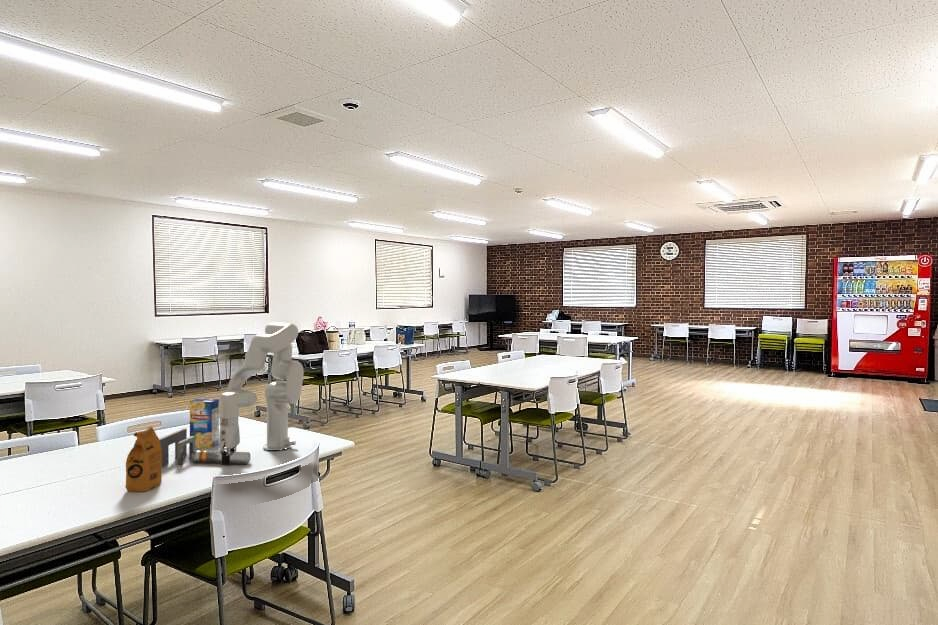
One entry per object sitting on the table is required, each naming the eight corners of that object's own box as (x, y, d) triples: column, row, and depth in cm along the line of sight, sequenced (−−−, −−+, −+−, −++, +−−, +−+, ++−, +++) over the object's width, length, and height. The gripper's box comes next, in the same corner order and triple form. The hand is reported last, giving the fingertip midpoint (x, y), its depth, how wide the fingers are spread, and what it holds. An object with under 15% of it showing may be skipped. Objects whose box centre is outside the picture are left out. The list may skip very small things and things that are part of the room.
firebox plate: (186, 454, 255) (186, 428, 254) (159, 468, 234) (159, 440, 234) (183, 454, 255) (183, 428, 254) (155, 468, 234) (155, 439, 234)
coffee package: (120, 492, 206) (120, 433, 205) (141, 481, 218) (140, 425, 218) (147, 493, 206) (147, 433, 205) (166, 481, 218) (166, 426, 217)
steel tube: (250, 462, 245) (250, 451, 245) (245, 465, 240) (245, 453, 240) (197, 460, 246) (197, 449, 246) (191, 463, 241) (191, 452, 241)
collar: (194, 458, 250) (195, 436, 249) (180, 465, 239) (180, 442, 238) (191, 457, 250) (191, 436, 249) (177, 465, 239) (177, 442, 238)
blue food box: (211, 447, 267) (211, 401, 266) (189, 446, 267) (189, 401, 267) (219, 443, 273) (219, 399, 273) (197, 443, 274) (197, 398, 273)
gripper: (227, 426, 234) (227, 469, 234) (246, 417, 251) (246, 457, 251) (210, 425, 234) (210, 468, 235) (230, 416, 251) (229, 456, 252)
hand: (228, 462), depth 243 cm, fingers closed on steel tube, 5 cm apart
